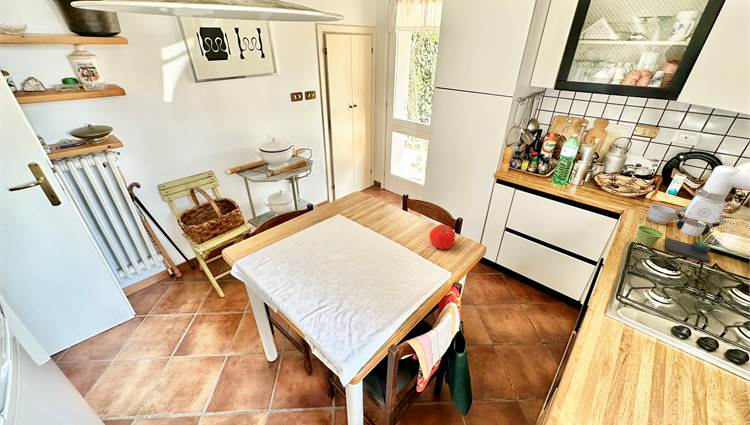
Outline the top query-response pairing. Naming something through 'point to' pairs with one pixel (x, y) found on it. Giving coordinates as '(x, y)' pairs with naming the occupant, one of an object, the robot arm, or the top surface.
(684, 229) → the bowl
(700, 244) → the tare button
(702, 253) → the scale
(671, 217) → the teacup
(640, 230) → the plant pot
